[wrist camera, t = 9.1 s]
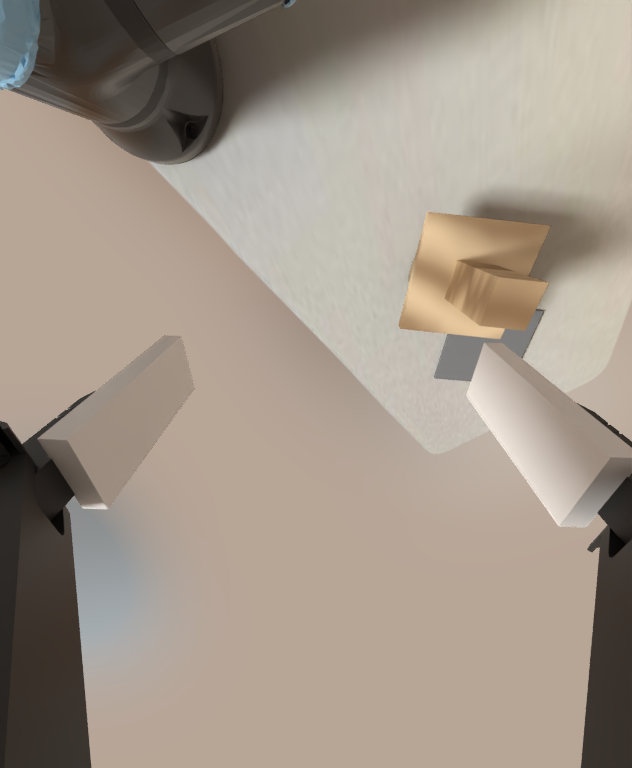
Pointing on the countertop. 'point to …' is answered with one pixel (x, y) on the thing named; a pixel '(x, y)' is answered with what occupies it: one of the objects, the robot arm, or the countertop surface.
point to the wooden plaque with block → (474, 276)
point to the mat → (479, 350)
